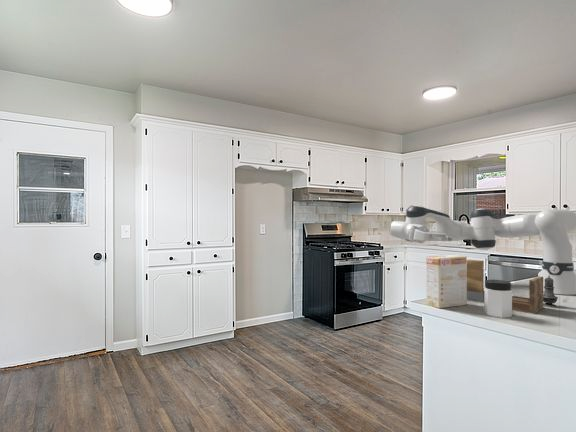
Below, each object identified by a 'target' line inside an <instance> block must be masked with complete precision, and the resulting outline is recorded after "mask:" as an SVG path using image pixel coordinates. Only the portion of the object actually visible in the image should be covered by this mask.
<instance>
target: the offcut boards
mask: <svg viewBox="0 0 576 432" xmlns="http://www.w3.org/2000/svg"><path fill="white" fill-rule="evenodd" d="M512 302H519V303H525V304H529V302H528V300H526V299H519V298H512Z"/></svg>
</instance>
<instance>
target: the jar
mask: <svg viewBox="0 0 576 432" xmlns="http://www.w3.org/2000/svg"><path fill="white" fill-rule="evenodd" d="M512 296H513V290H512V282H511V281H508V280H502V279H486V280H485V279H484V302H483V304H484V305H483V307H484V309H483V311H484V313H485V314H486V315H487V316H490V317H495V318H502V319H503V318H512V317H513V310H512Z"/></svg>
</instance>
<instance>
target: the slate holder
mask: <svg viewBox="0 0 576 432" xmlns="http://www.w3.org/2000/svg"><path fill="white" fill-rule="evenodd" d="M467 300H469V301H475V302H480V303H484V298H483V293H482V292H475V291H468V290H467Z"/></svg>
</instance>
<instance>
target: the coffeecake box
mask: <svg viewBox="0 0 576 432" xmlns="http://www.w3.org/2000/svg"><path fill="white" fill-rule="evenodd" d="M425 258H426V263H425V264H426V305H427V306H430V307H434V308H437V309H443V308H444V309H445V308H451V307H458V306H459V307H460V306H466V305H468V301H467V300H468V299H467V260H468V259H467V256H464V255H457V254H451V255H449V254H447V255H434V256H433V255H430V256H426V257H425Z"/></svg>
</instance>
